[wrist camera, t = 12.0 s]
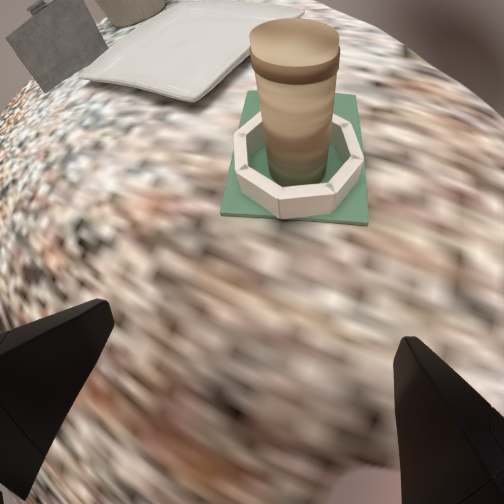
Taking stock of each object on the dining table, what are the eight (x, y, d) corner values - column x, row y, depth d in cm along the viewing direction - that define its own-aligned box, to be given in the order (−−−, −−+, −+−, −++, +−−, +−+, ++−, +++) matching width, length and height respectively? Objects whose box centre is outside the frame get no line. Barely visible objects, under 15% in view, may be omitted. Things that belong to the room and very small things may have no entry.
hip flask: (44, 96, 41) (-3, 31, 23) (47, 87, 43) (4, 25, 24) (110, 56, 41) (70, -21, 23) (111, 49, 43) (74, -24, 24)
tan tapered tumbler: (315, 200, 23) (326, 62, 11) (257, 180, 25) (230, 46, 13) (334, 155, 25) (349, 26, 13) (281, 138, 26) (269, 13, 14)
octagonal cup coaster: (401, 222, 22) (414, 201, 19) (221, 241, 24) (210, 221, 21) (349, 86, 29) (351, 62, 26) (221, 98, 30) (214, 75, 27)
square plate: (84, 91, 38) (74, 75, 34) (186, 13, 44) (182, -1, 41) (200, 121, 30) (191, 96, 26) (308, 26, 36) (307, 7, 33)
